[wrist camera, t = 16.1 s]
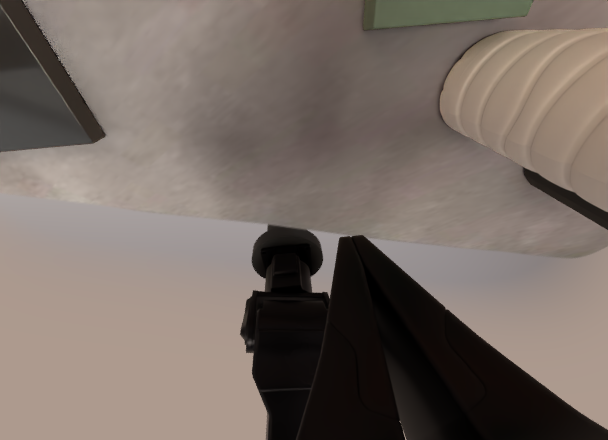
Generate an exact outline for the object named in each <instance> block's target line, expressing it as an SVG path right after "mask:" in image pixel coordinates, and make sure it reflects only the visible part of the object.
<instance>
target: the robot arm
mask: <svg viewBox="0 0 608 440" xmlns="http://www.w3.org/2000/svg"><path fill="white" fill-rule="evenodd" d="M306 247H307V248H306ZM260 254H261V257H262V261H263V264H264V268H265V271H266V284H265V292H262V291H253V294H252V297H250V298H249V299H248V300H247V301H246V308H245V314H244V319H243V323H242V327H241V333H240V335H241V336H242V337H243V339H244V340H245V345H246V353H254V356H253V367H252V375H253V378H254V381H255V383H256V386H257V388H258V390H259V393H260V395H261V397H262V400H263V403H264V405H265V407H266V410H267V428H266V440H405V437H404V434H403V430H404V433H405V436H406V439H407V440H608V430H607V429H605V428H604V427H602V426H600V425H599V424H597V423H595V422H594V421H592V420H590V419H589V418H587V417H586V416H584V415H583V414H581V413H580V412H578V411H577V410H576V409H574V408H573V407H571V406H570V405H569V404H567V403H566V402H565V401H563V400H562V399H561V398H559V397H558V396H557V395H555V394H554V393H553V392H551V391H550V390H549V389H547V388H546V387H545V386H543V385H542V384H541V383H539V382H538V381H537V380H535V379H534V378H533V377H531V376H530V375H529V374H528V373H526V372H525V371H523V370H522V369H521V368H520V367H518V366H517V365H516V364H514V363H513V362H512V361H510V360H509V359H508V358H506V357H505V356H504V355H502V354H501V353H500V352H498V351H497V350H496V349H495V348H493V347H492V346H491V345H490V344H488V343H487V342H486V341H484V340H483V339H482V338H481V337H479V336H478V335H477V334H476V333H475V332H473V331H472V330H471V329H470V328H469V327H467V326H466V325H465V324H464V323H462V321H460V320H459V319H458V318H457V317H456V316H455V315H454V314H452V313H451V312H450V311H449V310H446V309H445V307H444V306H443V305H442V304H441V303H439V302H438V301H437V300H436V299H435V298H434V297H433V296H432V295H431V294H429V293H428V292H427V291H426V290H425V289H424V288H423V287H421V286H420V285H419V284H418V283H417V282H416V281H414V280H413V279H412V278H411V277H410V276H409V275H408V274H407V273H405V272H404V271H403V270H402V269H401V268H400V267H399V266H398V265H396V264H395V263H394V262H393V261H392V260H391V259H389V258H388V257H387V256H386V255H385V254H384V253H383V252H382V251H380V250H379V249H378V248H377V247H376V246H375V245H374V244H372V243H371V242H370V241H369V240H368V239H367V238H366V237H364V236H363V235H357V236H352V237H350V236H347V237H340V238H339V243H338V250H337V256H336V263H335V269H334V276H333V282H332V289H331V295H330V298H329V296H328V293H327V292H322V293H312V287H311V279H310V277H311V276H312V261H311V248H310V245H309V244H298V245H288V246H278V247H268V248H262V249H261V252H260ZM399 421H400V422H401V423H400V422H399ZM401 425H402V426H401ZM402 428H403V429H402Z"/></svg>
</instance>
